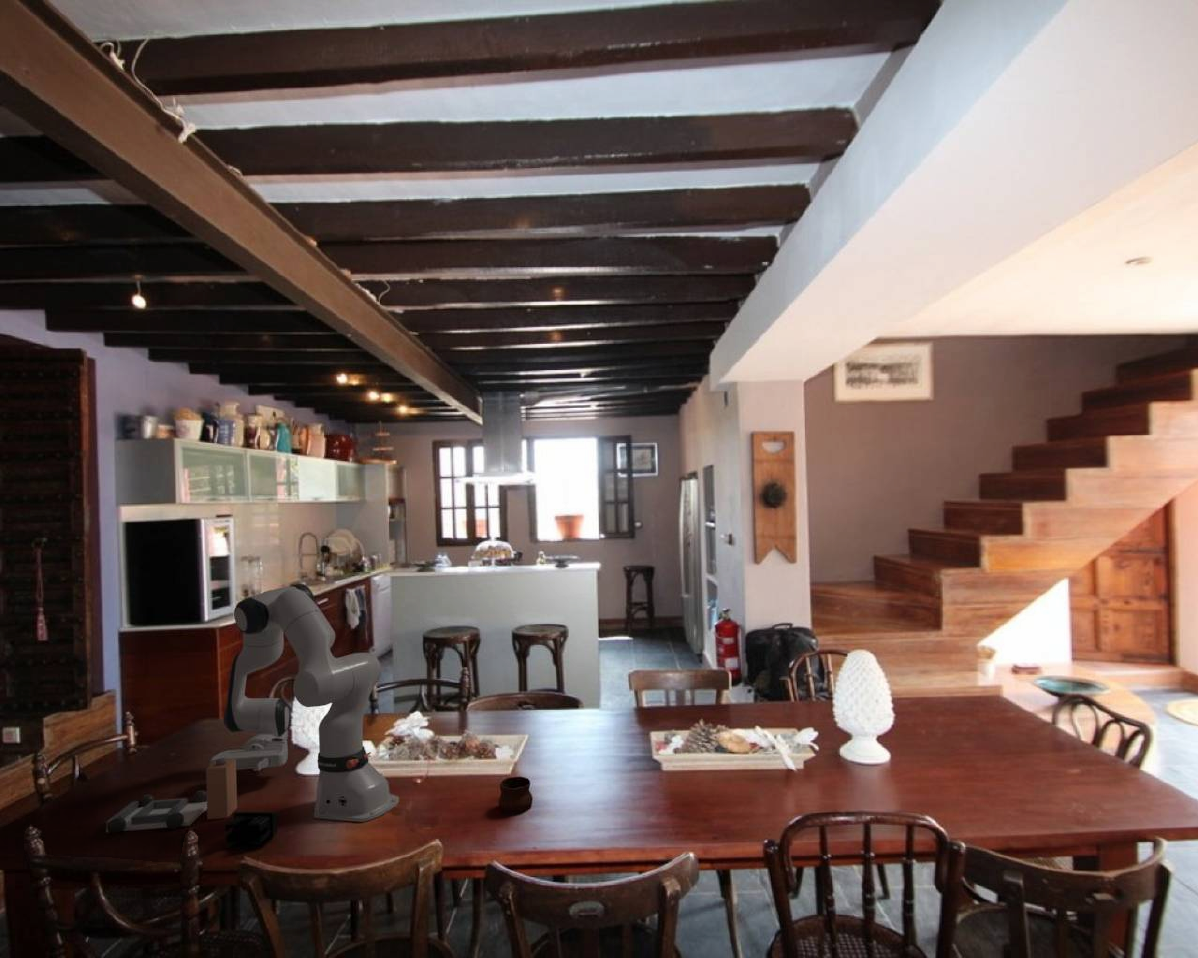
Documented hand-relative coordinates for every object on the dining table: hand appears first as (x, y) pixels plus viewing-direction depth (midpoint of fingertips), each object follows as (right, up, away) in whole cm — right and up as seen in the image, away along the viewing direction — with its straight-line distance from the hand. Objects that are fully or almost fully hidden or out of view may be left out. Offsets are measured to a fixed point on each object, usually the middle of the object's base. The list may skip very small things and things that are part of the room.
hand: (238, 769), depth 195 cm
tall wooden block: (+1, -7, -11) cm, 13 cm away
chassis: (-14, -8, -12) cm, 20 cm away
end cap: (+17, -6, -27) cm, 33 cm away
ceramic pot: (+80, -5, -14) cm, 81 cm away
